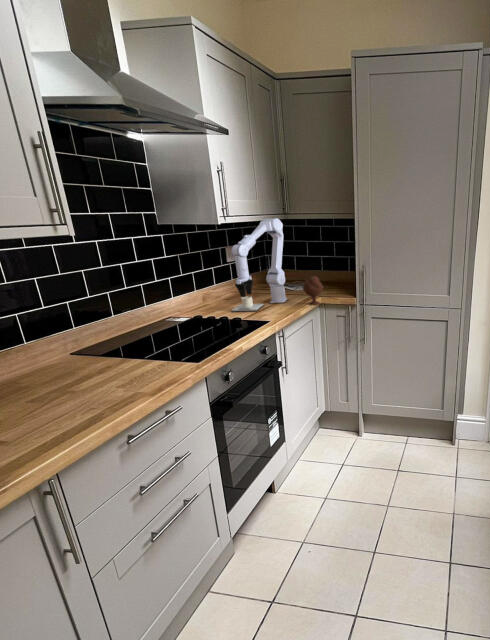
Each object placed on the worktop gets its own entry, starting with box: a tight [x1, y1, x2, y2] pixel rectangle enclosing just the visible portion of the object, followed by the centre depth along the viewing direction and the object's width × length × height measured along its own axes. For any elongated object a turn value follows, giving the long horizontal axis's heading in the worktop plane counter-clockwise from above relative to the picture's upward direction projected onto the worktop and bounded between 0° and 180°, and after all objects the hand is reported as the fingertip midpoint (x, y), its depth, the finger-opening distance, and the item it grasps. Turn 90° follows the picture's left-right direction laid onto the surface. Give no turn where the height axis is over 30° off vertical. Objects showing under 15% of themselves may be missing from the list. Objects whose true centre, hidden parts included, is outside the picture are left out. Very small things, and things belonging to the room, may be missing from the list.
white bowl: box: [240, 295, 254, 308], centre depth 230 cm, size 6×6×5 cm
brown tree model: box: [302, 275, 324, 306], centre depth 236 cm, size 11×11×15 cm
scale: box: [231, 303, 265, 313], centre depth 231 cm, size 14×13×1 cm
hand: (246, 295), depth 229 cm, fingers open, 7 cm apart
